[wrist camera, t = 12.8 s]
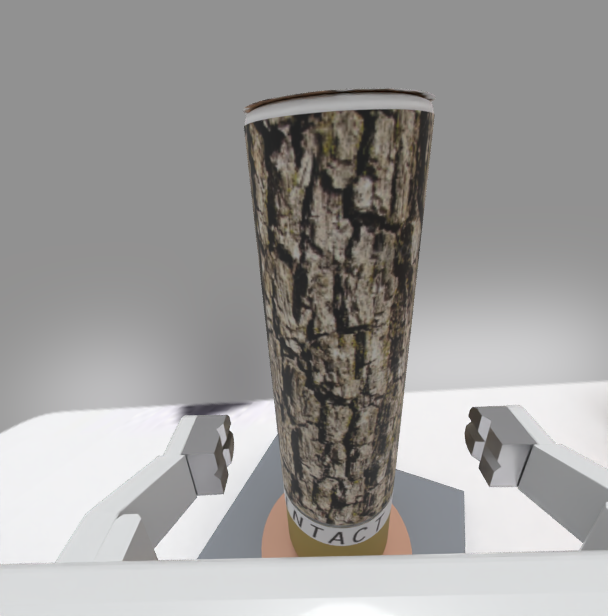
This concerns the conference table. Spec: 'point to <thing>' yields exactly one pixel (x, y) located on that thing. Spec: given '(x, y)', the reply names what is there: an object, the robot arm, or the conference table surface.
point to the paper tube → (339, 297)
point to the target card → (275, 532)
